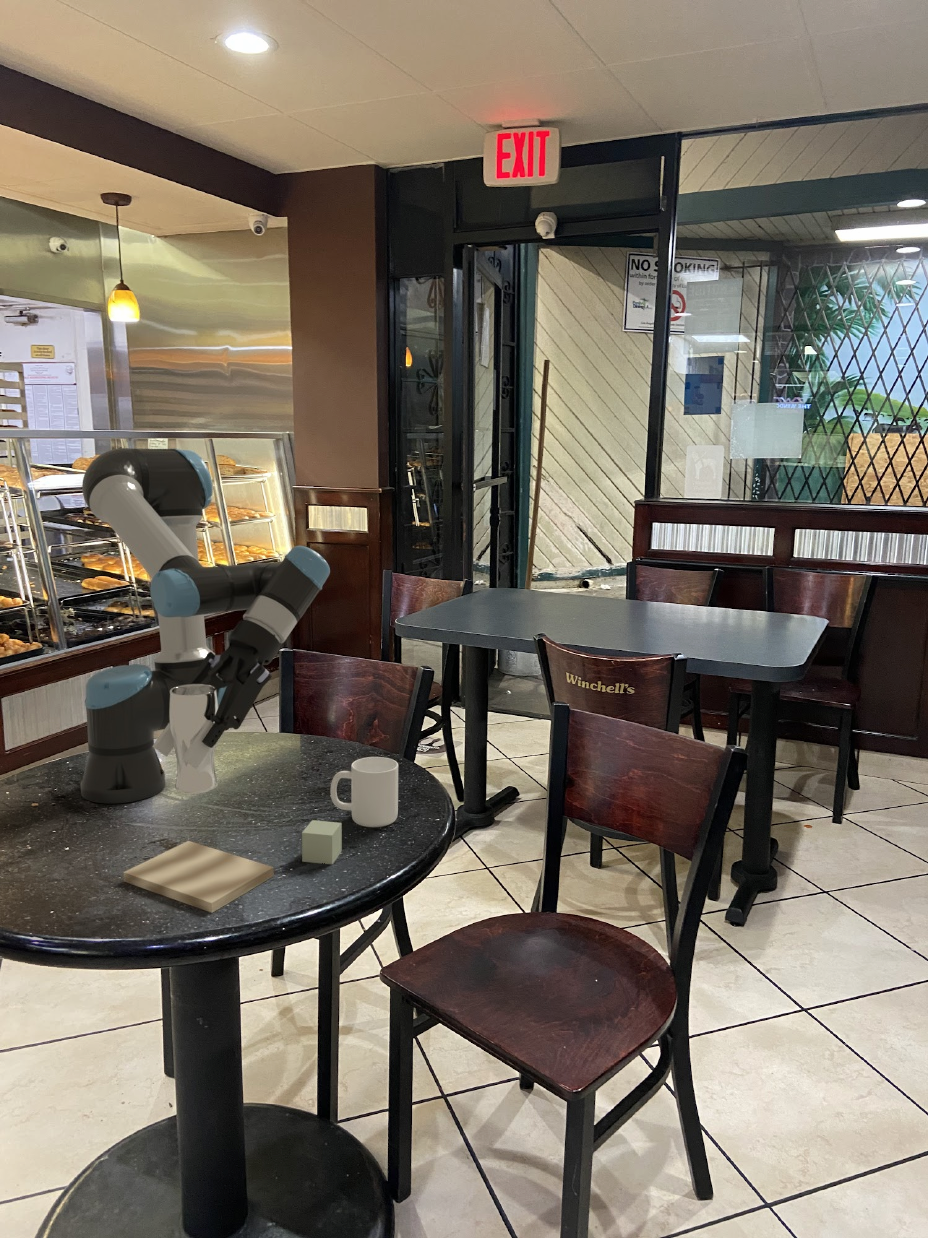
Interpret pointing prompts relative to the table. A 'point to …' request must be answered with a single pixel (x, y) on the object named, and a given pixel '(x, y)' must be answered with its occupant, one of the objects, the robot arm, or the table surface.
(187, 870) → the board
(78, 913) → the table surface
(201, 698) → the beer glass
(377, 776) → the cup
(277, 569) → the robot arm
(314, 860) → the sage block
